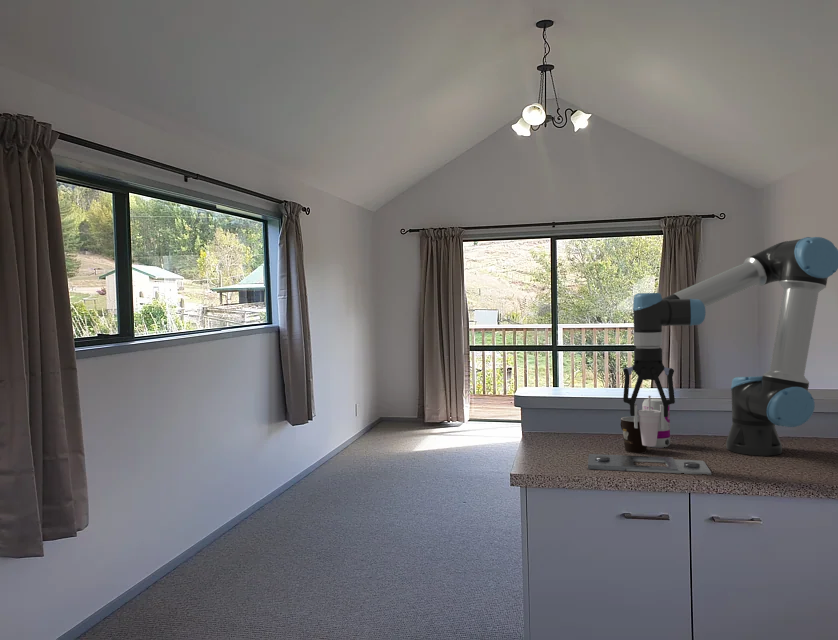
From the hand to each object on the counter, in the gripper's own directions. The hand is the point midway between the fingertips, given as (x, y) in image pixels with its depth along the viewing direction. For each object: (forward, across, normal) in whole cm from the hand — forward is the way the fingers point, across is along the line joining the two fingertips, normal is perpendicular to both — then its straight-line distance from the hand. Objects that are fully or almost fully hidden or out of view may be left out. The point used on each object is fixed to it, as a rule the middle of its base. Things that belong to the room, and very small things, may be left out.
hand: (649, 427), depth 174 cm
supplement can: (+11, -4, -27) cm, 30 cm away
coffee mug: (+11, +3, -20) cm, 23 cm away
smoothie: (+5, 0, 0) cm, 5 cm away
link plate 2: (+11, -4, 0) cm, 12 cm away
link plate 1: (+11, +5, 0) cm, 12 cm away
